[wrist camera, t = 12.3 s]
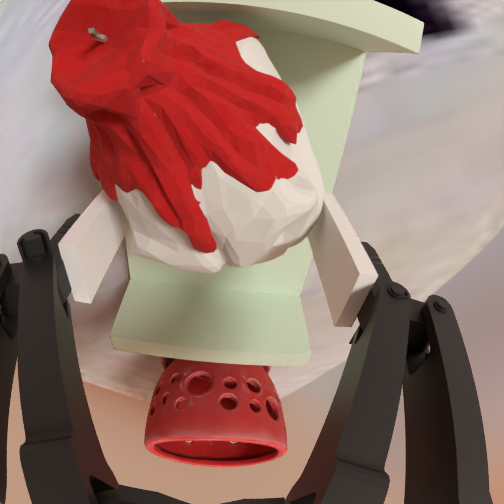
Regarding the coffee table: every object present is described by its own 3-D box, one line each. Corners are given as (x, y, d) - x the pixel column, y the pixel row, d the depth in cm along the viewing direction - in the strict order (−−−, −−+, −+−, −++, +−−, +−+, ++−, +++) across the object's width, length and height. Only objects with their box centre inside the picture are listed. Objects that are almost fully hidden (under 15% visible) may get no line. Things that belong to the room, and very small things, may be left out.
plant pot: (145, 361, 32) (128, 453, 23) (191, 298, 26) (174, 425, 16) (237, 392, 37) (238, 474, 27) (302, 344, 31) (319, 448, 21)
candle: (194, 278, 19) (-31, 319, 5) (167, 125, 20) (9, 14, 5) (334, 247, 17) (404, 222, 3) (288, 85, 18) (223, -110, 3)
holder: (139, -13, 11) (88, -42, 6) (365, 15, 13) (427, 1, 7) (137, 293, 26) (117, 358, 20) (290, 307, 27) (301, 374, 21)
